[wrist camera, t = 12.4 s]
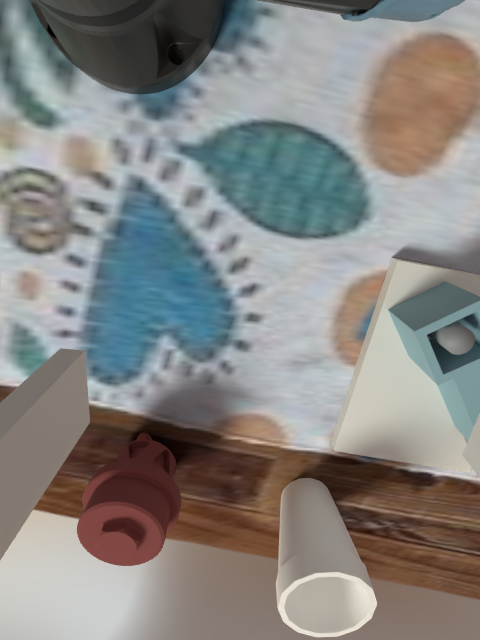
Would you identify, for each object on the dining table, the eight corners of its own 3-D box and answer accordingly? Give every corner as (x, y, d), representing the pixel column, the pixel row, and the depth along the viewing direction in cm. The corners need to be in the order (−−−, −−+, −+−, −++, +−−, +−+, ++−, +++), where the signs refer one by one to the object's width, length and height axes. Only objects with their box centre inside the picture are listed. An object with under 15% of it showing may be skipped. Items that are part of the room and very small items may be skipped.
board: (391, 257, 36) (431, 275, 28) (550, 288, 36) (630, 313, 29) (330, 442, 43) (348, 495, 36) (462, 464, 44) (507, 520, 37)
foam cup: (347, 515, 47) (383, 627, 35) (280, 530, 48) (293, 644, 36) (332, 460, 44) (365, 562, 32) (261, 477, 45) (266, 583, 33)
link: (387, 309, 36) (414, 331, 30) (445, 281, 35) (484, 298, 29) (442, 432, 41) (474, 470, 35) (494, 410, 40) (535, 446, 34)
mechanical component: (121, 409, 42) (201, 435, 43) (101, 471, 45) (176, 493, 46) (74, 491, 30) (185, 524, 32) (52, 567, 34) (153, 594, 35)
